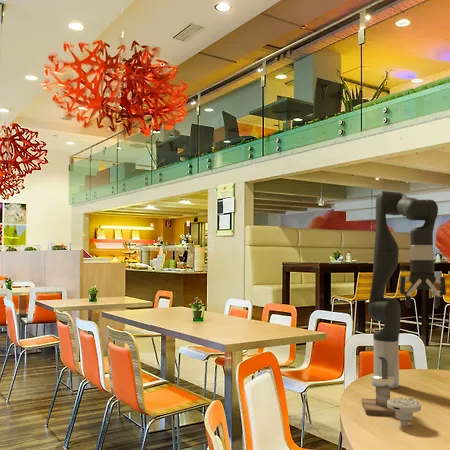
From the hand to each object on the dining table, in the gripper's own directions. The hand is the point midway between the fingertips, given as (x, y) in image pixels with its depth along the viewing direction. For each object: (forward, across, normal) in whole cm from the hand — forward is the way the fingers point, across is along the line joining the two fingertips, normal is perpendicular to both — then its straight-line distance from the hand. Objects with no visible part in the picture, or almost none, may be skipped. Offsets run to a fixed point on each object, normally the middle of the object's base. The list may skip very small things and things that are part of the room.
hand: (422, 307), depth 167 cm
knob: (+24, -14, -5) cm, 29 cm away
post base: (+32, -14, -6) cm, 36 cm away
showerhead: (+32, -10, -20) cm, 39 cm away
